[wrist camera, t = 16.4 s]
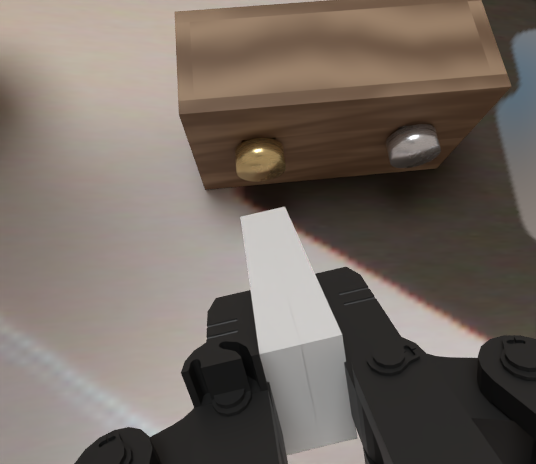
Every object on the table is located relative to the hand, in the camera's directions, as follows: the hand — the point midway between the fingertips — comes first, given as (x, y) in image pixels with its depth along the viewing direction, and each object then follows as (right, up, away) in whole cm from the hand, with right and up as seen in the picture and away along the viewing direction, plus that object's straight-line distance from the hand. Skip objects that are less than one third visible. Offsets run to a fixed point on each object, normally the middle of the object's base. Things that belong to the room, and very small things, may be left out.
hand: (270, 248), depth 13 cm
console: (+5, +11, +32) cm, 34 cm away
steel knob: (+13, +10, +25) cm, 30 cm away
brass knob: (-1, +8, +25) cm, 26 cm away
